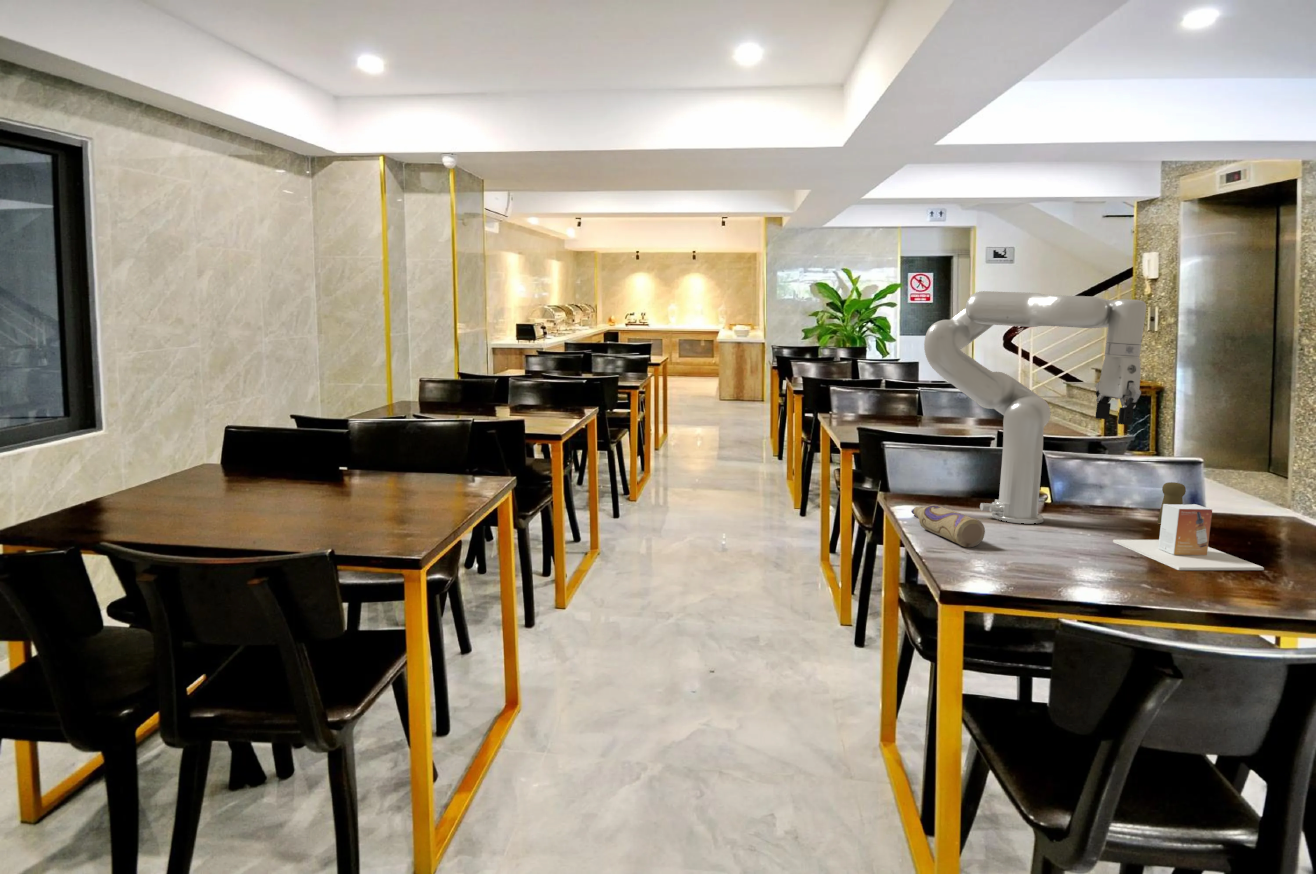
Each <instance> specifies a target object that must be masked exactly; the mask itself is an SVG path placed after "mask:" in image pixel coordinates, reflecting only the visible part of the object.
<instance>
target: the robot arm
mask: <svg viewBox="0 0 1316 874" xmlns="http://www.w3.org/2000/svg"><path fill="white" fill-rule="evenodd" d="M1146 311H1147V303H1146V302H1145V301H1144V300H1140V299H1129V298H1127V299H1123V298H1122V299H1121V298H1120V299H1115V300H1114V299H1113V300H1112V299H1106V298H1101V297H1097V296H1092V295H1091V296H1088V295H1087V296H1085V295H1061V294H1060V295H1055V294H1043V293H1039V292H1019V291H1017V292H1016V291H992V290H991V291H988V290H987V291H985V290H984V291H983V290H981V291H976V292H974V293H973V294H971V295H970V296H969V297H968V299H967V301H966V302H965V308H963V309H962V310H961V311H960V312H958V313H957V314H956V315H955V316H952V317H951V318H950V319H942V320H938V321H935V322H934V323H932V324H931V326H929V328H928V329H927V331H926V334H925V337H924V343H923V345H924V347H923V348H924V354H925V358H926V360H927V362H928V363H929V365H930V366H931V368H932V369H933V371H935V372H936V373H937V374H938V375H939V376H940V377H941V378H943V379H944V380H945V381H947V382H948V383H950V385H952V386H953V387H955V388H956V389H957V390H958V391H960V392H962V393H963V394H964V395H965V396H967V397H969V399H971V400H972V401H973V402H974V403H976V404H977V405H978V406H980V407H982V408H983V409H988V410H990V409H991V410H995V411H996V412H998V413H999V414H1001V415H1002V416H1003V420H1002V423H1003V424H1002V429H1003V431H1002V435H1003V437H1002V452H1001V453H1002V455H1001V469H1000V479H999V483H1000V484H999V493H998V494H999V496H998V499H995V498H994V501H992V502H991V503H988V502H986V503H985V502H980V505H979V509H980V511H987V512H988V511H989V512H991V515H992V516H991V517H992V518H993V519H995V520H998V519H999V521H1001V520H1002V522H1006V521H1007V523H1014V524H1021V523H1024V524H1023V525H1025V524H1027V525H1030V524H1031V525H1034V523H1036V524H1040V523H1043V522H1045V521H1044V520H1045V517H1044V516H1043V515H1042V514H1040V513H1039V501H1040V489H1041V487H1040V486H1041V476H1042V465H1043V454H1044V453H1043V452H1044V451H1043V450H1044V433H1045V432H1044V429H1045V427H1046V426H1047V424H1048V423H1049V421H1050V419H1051V416H1052V415H1051V408H1050V405H1049V403H1048V402H1047V401H1046V400H1045V399H1044V398H1042V397H1041V396H1040V395H1038V394H1037V393H1036V392H1034V391H1033V390H1031V389H1030V388H1029V387H1026V386H1025V385H1024V384H1022V382H1019V381H1018V380H1017V379H1016V378H1014V377H1013V376H1011V375H1009V374H1007V373H1005V372H1001V371H992V370H990V369H989V368H987V367H985V366H984V365H982V364H980V363H979V362H978V361H977V360H976V359H974V358H972V357H971V356H970V355H968V354H966V353H965V352H964V351H962V349H964V348H965V347H967V346H968V345H970V344H971V343H972V342H973V341H975V340H976V339H978V337H980V336H982V334H983V333H985V332H987V331H988V330H989V329H990V328H992V327H993V326H995V325H996V326H1008V327H1009V326H1012V327H1027V328H1028V327H1029V328H1030V327H1031V328H1038V327H1058V328H1059V327H1060V328H1061V327H1064V328H1076V329H1077V328H1079V329H1080V328H1081V329H1102V328H1107V334H1106V340H1105V341H1106V342H1105V349H1104V354H1103V355H1104V360H1103V364H1102V367H1101V372H1100V376H1099V381H1098V382H1097V383H1095V390H1096V393H1095V395H1096V410H1095V416H1094V417H1095V419H1096V420H1097V419H1098V420H1109V419H1110V413H1111V404H1112V403H1111V402H1110V401H1111V400H1112V399H1119V402H1120V405H1121V407H1119V410H1118V416H1117V417H1118V418H1117V424H1118V425H1123V426H1124V425H1125V426H1126V425H1127V426H1131V425H1132V424H1133V417H1134V412H1135V411H1134V410H1135V409H1136V405H1137V404H1138V402H1139V399H1140V396H1141V394H1142V390H1140V386H1141V372H1142V371H1141V369H1142V368H1141V367H1142V366H1141V359H1140V356H1141V350H1142V341H1143V334H1144V327H1145V319H1146Z"/></svg>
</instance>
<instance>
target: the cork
mask: <svg viewBox="0 0 1316 874" xmlns="http://www.w3.org/2000/svg"><path fill="white" fill-rule="evenodd" d="M1162 493H1163V497H1162V498H1163V499H1162V500H1161V501H1162V502H1161V506H1160V510H1159V514H1158V518H1157V521H1156V524H1157V523H1160V524H1161V519H1162V510H1163V504H1183V505H1184V502H1183V499H1184V498H1183V497H1184V496H1185V495H1186V486H1185V484H1183V483H1179V482H1172V481H1171V482H1165V483H1164V484H1163V485H1162Z"/></svg>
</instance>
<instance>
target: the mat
mask: <svg viewBox="0 0 1316 874" xmlns="http://www.w3.org/2000/svg"><path fill="white" fill-rule="evenodd" d="M1112 542H1113V543H1114V544H1116V545H1118V546H1120V547H1123V548H1126V549H1129V550H1130V551H1133V552H1135V553H1137V554H1140V555H1141V556H1145V557H1147V558H1149V559H1152V560H1154V561H1156V562H1158V563H1161V564H1164V565H1165V566H1168V567H1170V568H1172V569H1174V570H1177V571H1264V570H1265V567H1263V566H1261V565H1259V564H1255V563H1253V562H1250V561H1248V560H1246V559H1245V560H1244V559H1243V558H1239V557H1238V556H1234V555H1232V554H1229V553H1226V552H1224V551H1221V550H1218V549H1216V548H1212V547H1210V546H1208V550H1207V555H1206V556H1202V555H1173V554H1171V553H1168V552H1166V551H1163V550H1160V549H1158V545H1159V539H1113V540H1112Z"/></svg>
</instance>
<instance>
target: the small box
mask: <svg viewBox="0 0 1316 874" xmlns="http://www.w3.org/2000/svg"><path fill="white" fill-rule="evenodd" d="M1212 517H1213V509H1212V508H1209V507H1206V506H1203V505H1199V504H1197V503H1196V504H1195V503H1193V504H1192V503H1191V504H1184V503H1183V504H1163V510H1162V519H1161V525H1160V529H1159V538H1158V540H1159V545H1158V549H1160V550H1163V551H1166V552H1168V553H1171V554H1173V555H1202V556H1206V555H1207V550H1208V547H1209V541H1210V534H1211V533H1210V532H1211V524H1212Z"/></svg>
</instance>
